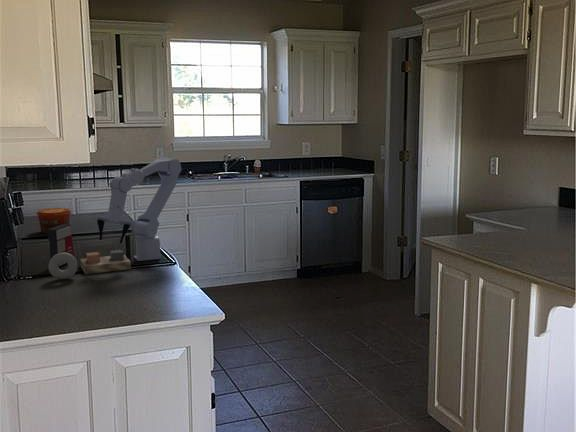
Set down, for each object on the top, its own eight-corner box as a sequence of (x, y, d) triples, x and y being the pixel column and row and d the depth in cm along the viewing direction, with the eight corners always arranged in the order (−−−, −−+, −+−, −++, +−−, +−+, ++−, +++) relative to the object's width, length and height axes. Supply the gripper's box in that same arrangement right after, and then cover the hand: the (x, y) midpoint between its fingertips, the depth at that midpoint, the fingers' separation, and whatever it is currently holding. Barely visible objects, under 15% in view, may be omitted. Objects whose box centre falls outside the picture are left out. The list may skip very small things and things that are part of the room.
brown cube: (98, 261, 237) (97, 252, 236) (100, 264, 233) (99, 254, 233) (86, 263, 235) (86, 253, 235) (88, 265, 231) (87, 255, 231)
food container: (40, 229, 307) (39, 208, 305) (73, 228, 311) (72, 207, 309) (35, 235, 292) (33, 213, 290) (70, 234, 296) (69, 212, 294)
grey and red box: (59, 267, 236) (57, 229, 233) (49, 267, 237) (47, 229, 234) (74, 260, 247) (72, 224, 244) (65, 260, 247) (62, 224, 245)
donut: (78, 276, 224) (76, 250, 222) (78, 279, 221) (77, 252, 219) (49, 279, 220) (47, 252, 219) (49, 281, 217) (47, 254, 215)
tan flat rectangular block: (124, 261, 246) (124, 254, 245) (130, 268, 235) (130, 261, 235) (80, 266, 238) (80, 258, 238) (85, 273, 228) (84, 266, 227)
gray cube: (121, 259, 241) (121, 249, 240) (123, 262, 237) (123, 252, 237) (110, 260, 239) (109, 250, 238) (112, 263, 235) (112, 253, 235)
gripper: (96, 203, 231) (90, 239, 231) (135, 210, 235) (129, 245, 234) (98, 204, 238) (92, 238, 238) (135, 210, 241) (129, 244, 241)
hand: (110, 241), depth 236 cm, fingers open, 7 cm apart
